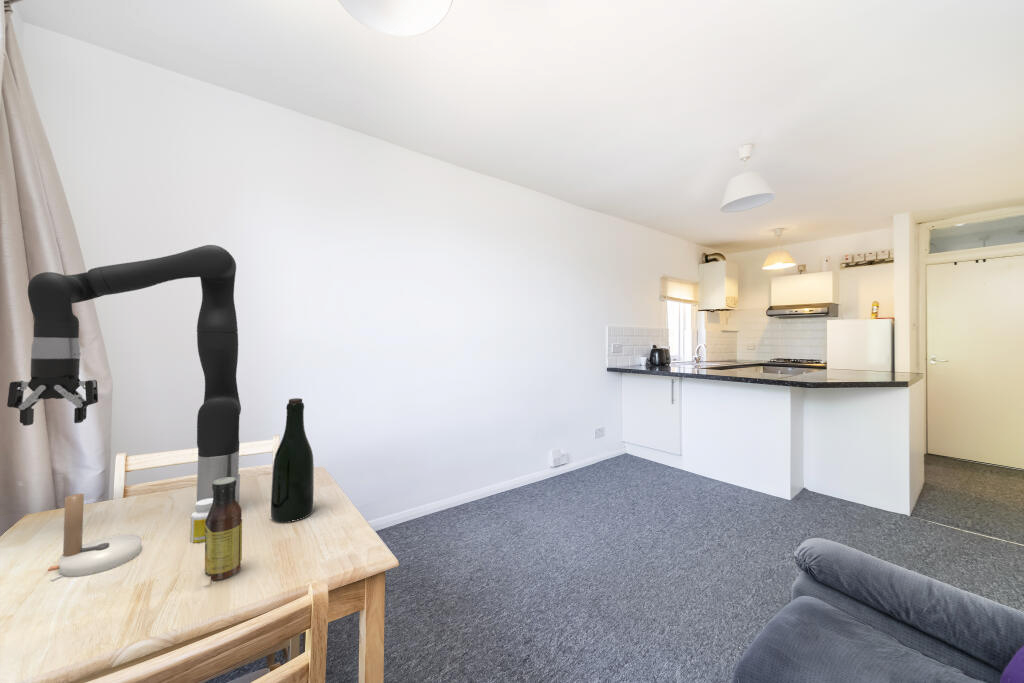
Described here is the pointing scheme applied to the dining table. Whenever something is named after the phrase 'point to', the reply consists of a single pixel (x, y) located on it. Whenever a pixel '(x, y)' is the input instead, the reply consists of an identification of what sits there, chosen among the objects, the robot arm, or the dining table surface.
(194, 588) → the dining table surface
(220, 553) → the sauce bottle
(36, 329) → the robot arm
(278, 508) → the dark green wine bottle
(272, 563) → the dining table surface
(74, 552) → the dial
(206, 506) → the supplement bottle
